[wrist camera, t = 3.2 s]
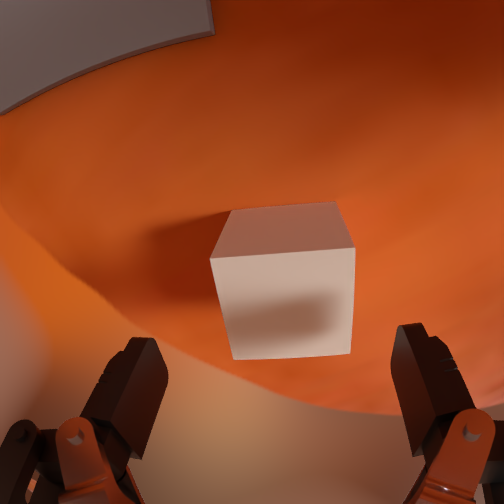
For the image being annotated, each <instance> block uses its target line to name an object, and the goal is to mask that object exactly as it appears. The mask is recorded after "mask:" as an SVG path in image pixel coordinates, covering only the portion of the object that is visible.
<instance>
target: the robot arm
mask: <svg viewBox="0 0 504 504" xmlns="http://www.w3.org/2000/svg"><path fill="white" fill-rule="evenodd" d="M457 368H458V367H457V365H456V363H455V361H454V360H453V357H452V355H451V353H450V351H449V349H448V347H447V345H446V344H445V343H443V342H442V341H441V340H440V339H439V338H438V337H437V336H433V337H429V336H428V334H427V332H426V330H425V328H424V326H423V325H422V323H413V324H406V325H399V326H398V328H397V332H396V337H395V342H394V347H393V352H392V356H391V374H392V378H393V382H394V385H395V389H396V392H397V396H398V400H399V403H400V407H401V411H402V415H403V418H404V422H405V426H406V430H407V434H408V439H409V443H410V447H411V451H412V456H413V457H415V456H419V455H424V459H425V464H424V466H423V468H422V470H421V472H420V473H419V475H418V477H417V479H416V481H415V483H414V485H413V486H412V488H411V490H410V491H409V493H408V495H407V496H406V498H405V500H404V501H403V503H402V504H476V501H475V500H474V494H475V491H476V488H477V486H478V484H480V483H482V487H483V493H484V498H485V504H504V421H497V420H492V418H491V417H490V416H489V415H488V414H487V413H486V412H484V411H482V410H479V409H477V408H476V407H475V405H474V403H473V400H472V398H471V396H470V393H469V391H468V389H467V387H466V384H465V382H464V380H463V378H462V376H461V374H460V371H459V370H458V369H457ZM167 384H168V370H167V367H166V364H165V362H164V360H163V357H162V355H161V353H160V350H159V348H158V345H157V343H156V341H155V339H154V338H142V337H132V338H131V339H130V340H129V342H128V344H127V346H126V348H125V349H124V351H119V352H118V353H117V354H116V355H115V356H114V357H113V358H112V359H111V360H110V361H109V362H108V364H107V366H106V368H105V370H104V373H103V374H102V375H101V377H100V379H99V383H97V384H96V386H95V388H94V390H93V392H92V394H91V396H90V397H89V399H88V401H87V403H86V405H85V407H84V409H83V411H82V413H81V415H80V416H79V417H73V418H70V419H68V420H66V421H64V423H62V424H61V425H60V426H59V428H58V429H46V430H39V428H37V426H36V425H35V424H34V423H33V422H32V421H30V420H20V421H18V422H16V423H15V424H13V425H12V426H11V428H10V429H9V431H8V433H7V435H6V437H5V439H4V441H3V443H2V445H1V447H0V504H27V503H26V500H25V493H26V490H27V488H28V485H29V483H30V480H31V478H32V475H33V473H34V470H35V471H36V472H38V473H39V474H40V475H39V478H38V481H37V483H36V486H35V488H34V491H33V494H32V496H31V499H30V502H29V503H28V504H145V502H144V500H143V498H142V496H141V493H140V491H139V489H138V487H137V485H136V482H135V480H134V478H133V475H132V473H131V471H130V468H129V466H128V465H127V463H128V461H129V458H135V459H140V460H141V459H142V457H143V454H144V451H145V448H146V445H147V442H148V439H149V436H150V433H151V430H152V427H153V424H154V422H155V419H156V416H157V413H158V410H159V407H160V404H161V401H162V399H163V396H164V393H165V390H166V387H167Z"/></svg>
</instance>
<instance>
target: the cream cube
mask: <svg viewBox="0 0 504 504" xmlns="http://www.w3.org/2000/svg"><path fill="white" fill-rule="evenodd" d="M210 262H211V267H212V271H213V276H214V280H215V285H216V289H217V293H218V298H219V302H220V306H221V310H222V315H223V319H224V323H225V327H226V331H227V335H228V339H229V343H230V347H231V351H232V355H233V359H234V360H245V359H279V358H299V357H315V356H328V355H340V354H350V348H351V336H352V321H353V304H354V281H355V246H354V243H353V241H352V238H351V236H350V234H349V231H348V229H347V227H346V224H345V222H344V220H343V217H342V215H341V213H340V210H339V208H338V206H337V204H336V202H335V201H333V202H319V203H306V204H294V205H282V206H270V207H259V208H249V209H239V210H232V211H231V213H230V215H229V217H228V219H227V221H226V224H225V226H224V228H223V230H222V232H221V235H220V237H219V239H218V241H217V243H216V246H215V248H214V250H213V252H212V254H211V257H210Z"/></svg>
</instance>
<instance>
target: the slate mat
mask: <svg viewBox="0 0 504 504" xmlns="http://www.w3.org/2000/svg"><path fill="white" fill-rule="evenodd" d="M211 35H215V30H214V23H213V16H212V10H211V3H210V0H0V115H4V114H6V113H7V112H9V111H11V110H12V109H14V108H16V107H18V106H19V105H21V104H23V103H25V102H27V101H29V100H30V99H32V98H34V97H36V96H38V95H40V94H42V93H44V92H46V91H48V90H50V89H52V88H54V87H56V86H58V85H61V84H63V83H65V82H67V81H69V80H72V79H74V78H76V77H78V76H81V75H83V74H86V73H88V72H90V71H93V70H95V69H98V68H101V67H103V66H106V65H108V64H111V63H114V62H117V61H120V60H122V59H125V58H128V57H131V56H134V55H137V54H141V53H144V52H147V51H150V50H154V49H157V48H161V47H164V46H168V45H172V44H176V43H180V42H184V41H188V40H192V39H197V38H201V37H206V36H211Z"/></svg>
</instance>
